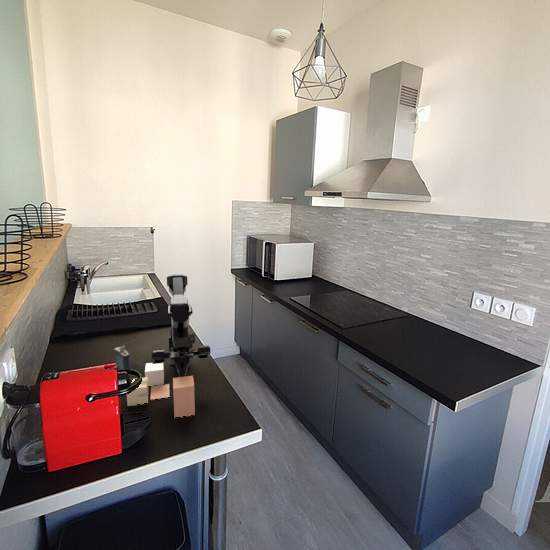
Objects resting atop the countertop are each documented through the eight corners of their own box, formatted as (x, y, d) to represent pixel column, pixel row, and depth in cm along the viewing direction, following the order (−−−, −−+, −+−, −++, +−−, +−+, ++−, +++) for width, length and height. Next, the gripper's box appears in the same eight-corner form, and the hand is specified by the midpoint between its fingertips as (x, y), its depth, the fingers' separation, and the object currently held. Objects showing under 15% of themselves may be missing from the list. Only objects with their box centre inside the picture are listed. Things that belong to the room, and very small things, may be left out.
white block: (146, 378, 121) (145, 363, 119) (164, 376, 122) (163, 361, 121) (145, 387, 115) (144, 371, 114) (163, 385, 117) (163, 369, 116)
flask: (114, 369, 125) (112, 343, 123) (122, 367, 128) (120, 341, 125) (125, 379, 120) (123, 352, 117) (133, 376, 122) (131, 349, 119)
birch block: (129, 395, 110) (128, 379, 109) (148, 393, 112) (147, 377, 110) (127, 406, 104) (126, 389, 103) (147, 403, 106) (146, 386, 105)
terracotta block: (174, 406, 105) (172, 378, 103) (193, 403, 107) (192, 375, 104) (174, 418, 99) (173, 388, 97) (194, 415, 101) (194, 385, 99)
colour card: (151, 387, 115) (151, 386, 115) (169, 384, 117) (169, 383, 117) (150, 400, 108) (150, 399, 108) (169, 397, 110) (169, 396, 109)
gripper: (150, 327, 106) (150, 376, 98) (209, 323, 111) (214, 369, 103) (152, 340, 115) (152, 386, 107) (207, 335, 120) (211, 378, 112)
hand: (182, 380), depth 107 cm, fingers closed
